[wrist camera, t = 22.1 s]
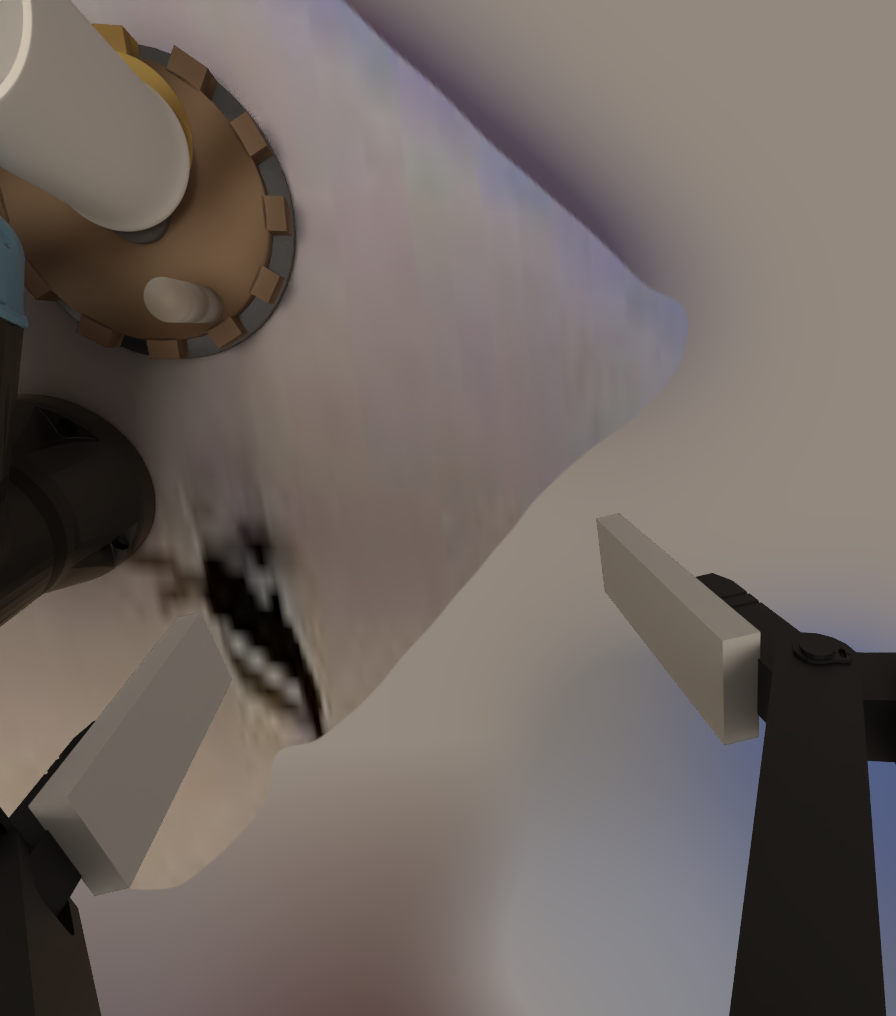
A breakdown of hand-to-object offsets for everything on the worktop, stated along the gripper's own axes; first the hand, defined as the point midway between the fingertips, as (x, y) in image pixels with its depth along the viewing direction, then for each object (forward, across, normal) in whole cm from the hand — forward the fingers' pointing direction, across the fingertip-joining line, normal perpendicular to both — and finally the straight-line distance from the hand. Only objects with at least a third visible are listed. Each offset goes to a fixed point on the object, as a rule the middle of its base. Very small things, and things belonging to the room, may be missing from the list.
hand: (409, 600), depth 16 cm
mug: (+23, -13, +23) cm, 35 cm away
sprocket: (+25, -13, +19) cm, 34 cm away
